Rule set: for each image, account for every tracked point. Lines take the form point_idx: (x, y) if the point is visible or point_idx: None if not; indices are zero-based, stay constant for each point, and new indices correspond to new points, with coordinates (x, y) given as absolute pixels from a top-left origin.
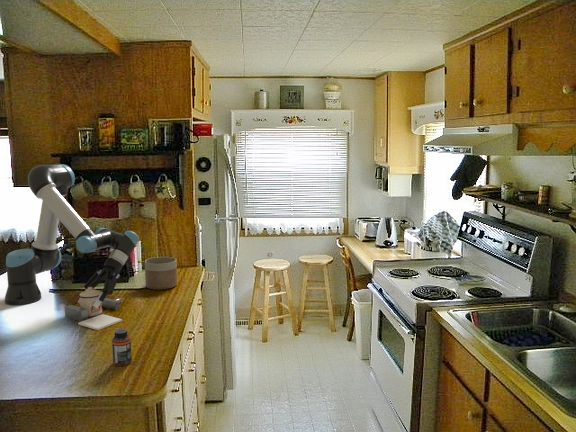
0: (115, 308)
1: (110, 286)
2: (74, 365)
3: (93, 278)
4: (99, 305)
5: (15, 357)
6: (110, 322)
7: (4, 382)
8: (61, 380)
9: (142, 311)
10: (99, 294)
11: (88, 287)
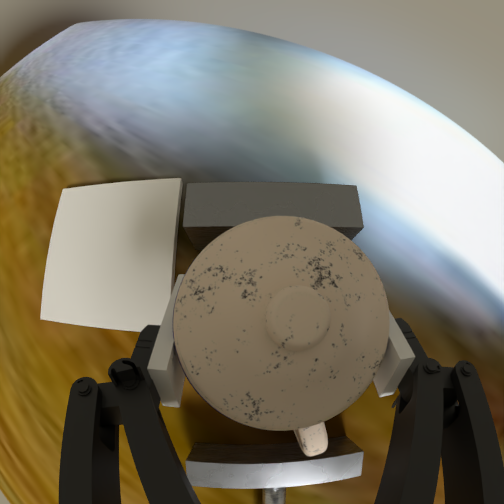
0: (198, 445)
1: (63, 436)
2: (32, 82)
3: (471, 474)
4: None
5: (156, 28)
6: (54, 261)
7: (103, 20)
8: (32, 64)
9: None
10: (167, 348)
11: (317, 303)
